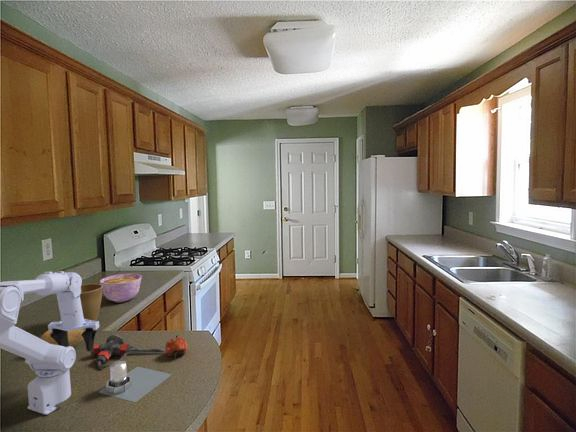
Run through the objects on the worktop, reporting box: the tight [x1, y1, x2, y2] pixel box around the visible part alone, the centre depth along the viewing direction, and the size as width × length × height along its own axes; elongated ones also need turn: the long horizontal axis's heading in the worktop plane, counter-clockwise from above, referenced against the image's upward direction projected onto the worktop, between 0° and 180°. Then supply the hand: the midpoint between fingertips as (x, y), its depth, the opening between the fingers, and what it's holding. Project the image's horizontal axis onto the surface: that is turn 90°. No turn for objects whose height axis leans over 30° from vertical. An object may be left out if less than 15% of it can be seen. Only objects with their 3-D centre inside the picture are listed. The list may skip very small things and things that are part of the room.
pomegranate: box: [164, 335, 188, 360], centre depth 123 cm, size 7×7×10 cm
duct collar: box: [105, 375, 132, 395], centre depth 104 cm, size 7×7×2 cm
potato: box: [40, 329, 85, 348], centre depth 130 cm, size 10×14×8 cm
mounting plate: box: [98, 366, 172, 403], centre depth 106 cm, size 15×14×1 cm
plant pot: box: [80, 283, 103, 321], centre depth 154 cm, size 15×15×16 cm
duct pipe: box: [109, 360, 128, 387], centre depth 104 cm, size 5×4×7 cm
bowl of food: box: [99, 273, 143, 303], centre depth 185 cm, size 20×20×12 cm
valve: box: [90, 334, 165, 370], centre depth 123 cm, size 6×26×15 cm
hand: (78, 349), depth 109 cm, fingers open, 7 cm apart
